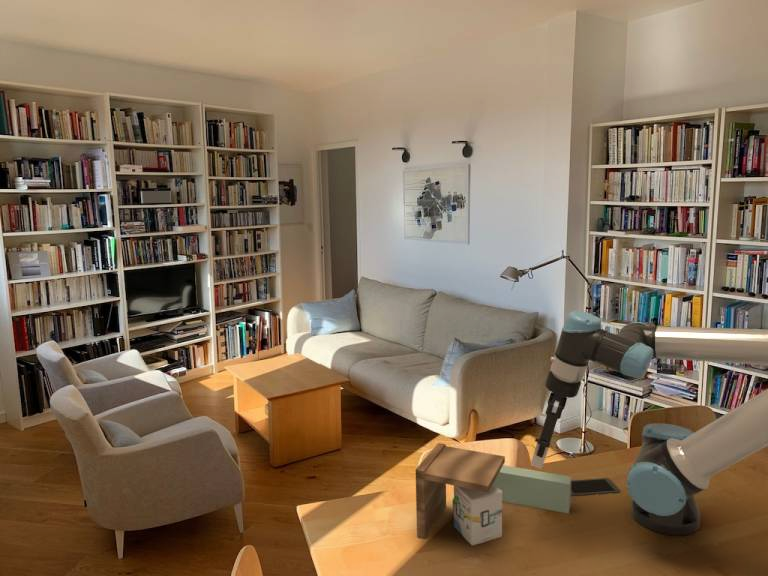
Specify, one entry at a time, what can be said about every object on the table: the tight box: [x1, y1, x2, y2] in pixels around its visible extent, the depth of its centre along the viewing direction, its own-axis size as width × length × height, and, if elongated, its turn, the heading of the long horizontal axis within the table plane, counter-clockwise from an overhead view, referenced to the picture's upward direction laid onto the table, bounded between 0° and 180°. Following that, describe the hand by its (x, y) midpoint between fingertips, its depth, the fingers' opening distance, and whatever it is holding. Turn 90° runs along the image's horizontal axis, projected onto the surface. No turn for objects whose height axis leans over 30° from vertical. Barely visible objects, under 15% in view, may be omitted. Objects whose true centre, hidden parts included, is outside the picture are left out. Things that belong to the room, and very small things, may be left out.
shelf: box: [415, 442, 506, 540], centre depth 138 cm, size 17×15×17 cm
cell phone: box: [571, 477, 621, 497], centre depth 156 cm, size 7×14×1 cm, turn 95°
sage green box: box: [452, 464, 572, 515], centre depth 147 cm, size 27×14×8 cm, turn 67°
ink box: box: [453, 484, 503, 546], centre depth 137 cm, size 8×8×12 cm
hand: (540, 452), depth 142 cm, fingers open, 13 cm apart
